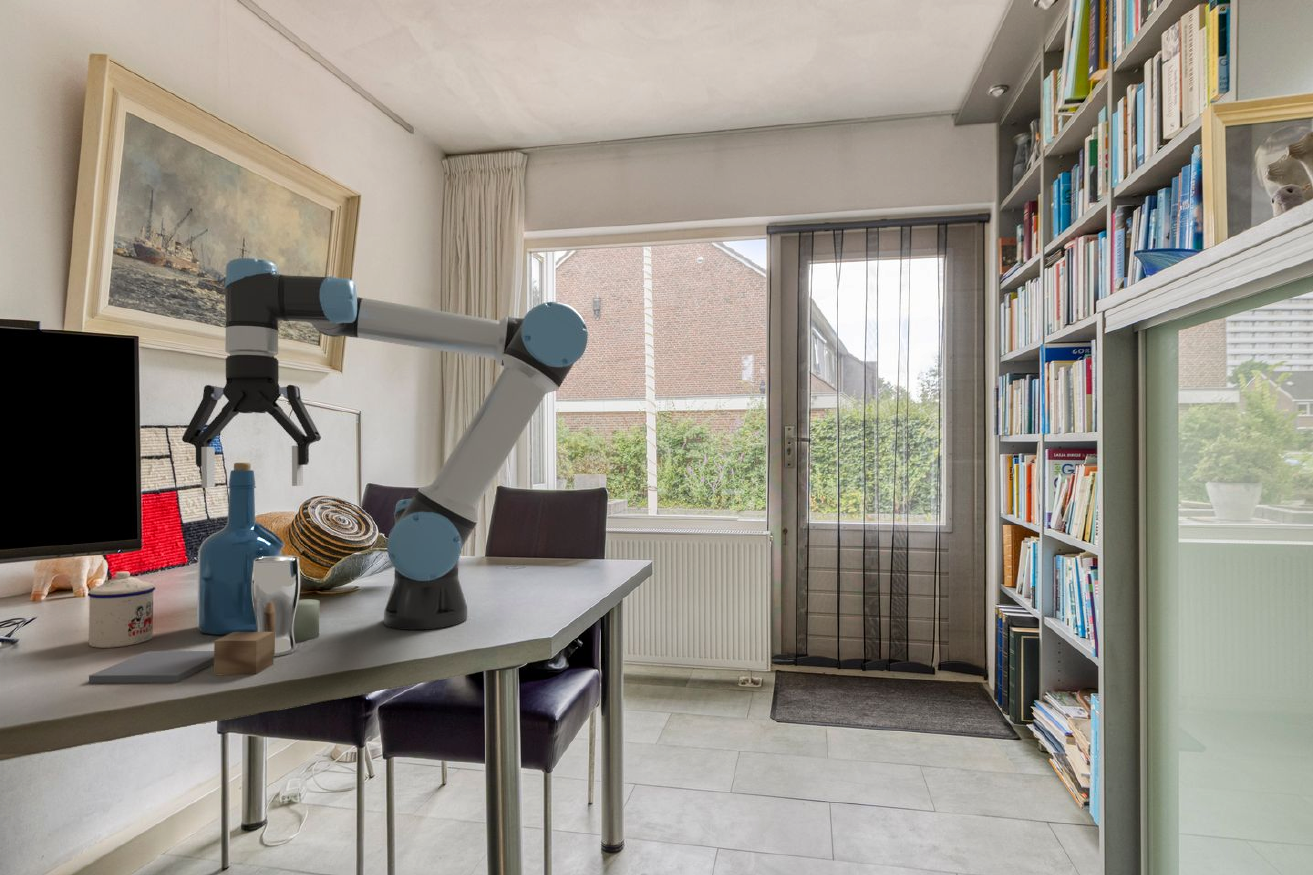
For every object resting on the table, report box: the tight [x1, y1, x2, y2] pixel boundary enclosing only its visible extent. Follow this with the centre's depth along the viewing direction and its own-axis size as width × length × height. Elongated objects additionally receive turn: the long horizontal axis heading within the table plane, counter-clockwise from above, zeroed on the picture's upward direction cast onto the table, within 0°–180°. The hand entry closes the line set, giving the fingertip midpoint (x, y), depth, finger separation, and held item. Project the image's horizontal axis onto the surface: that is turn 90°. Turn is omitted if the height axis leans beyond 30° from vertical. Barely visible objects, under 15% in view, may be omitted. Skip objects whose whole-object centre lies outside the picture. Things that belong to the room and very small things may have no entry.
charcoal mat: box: [88, 650, 214, 684], centre depth 105 cm, size 12×12×1 cm
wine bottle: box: [196, 462, 285, 636], centre depth 131 cm, size 14×13×30 cm
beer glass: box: [251, 554, 301, 658], centre depth 115 cm, size 7×7×15 cm
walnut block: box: [213, 631, 275, 676], centre depth 106 cm, size 6×5×5 cm
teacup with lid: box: [87, 570, 156, 649], centre depth 122 cm, size 12×9×12 cm
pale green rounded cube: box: [294, 598, 321, 643], centre depth 124 cm, size 6×6×6 cm
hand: (253, 486), depth 116 cm, fingers open, 13 cm apart
